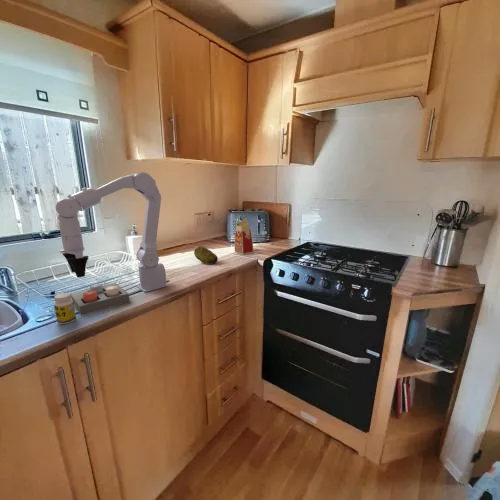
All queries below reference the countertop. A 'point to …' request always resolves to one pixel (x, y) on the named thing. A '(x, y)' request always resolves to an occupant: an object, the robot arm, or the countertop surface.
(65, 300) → the supplement bottle
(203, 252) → the olive green oval lump
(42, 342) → the countertop surface
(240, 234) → the milk carton
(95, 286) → the button slate
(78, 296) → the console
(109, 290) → the button ivory
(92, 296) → the button red
